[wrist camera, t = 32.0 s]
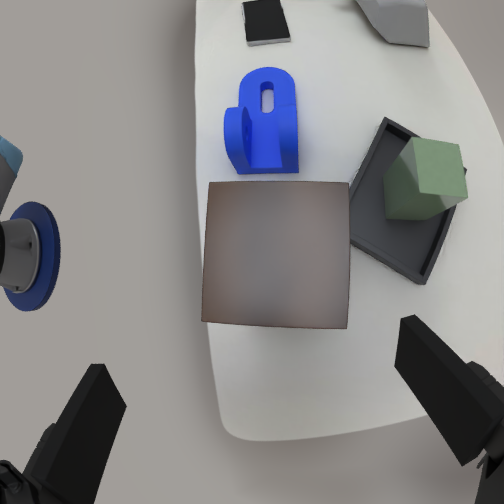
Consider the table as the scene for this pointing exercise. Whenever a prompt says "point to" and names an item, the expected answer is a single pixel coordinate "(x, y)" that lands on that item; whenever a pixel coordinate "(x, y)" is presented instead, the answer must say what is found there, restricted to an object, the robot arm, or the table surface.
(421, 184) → the green block
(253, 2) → the smartphone
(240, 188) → the stand
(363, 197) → the tray
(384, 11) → the tank
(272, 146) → the bracket
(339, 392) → the table surface
